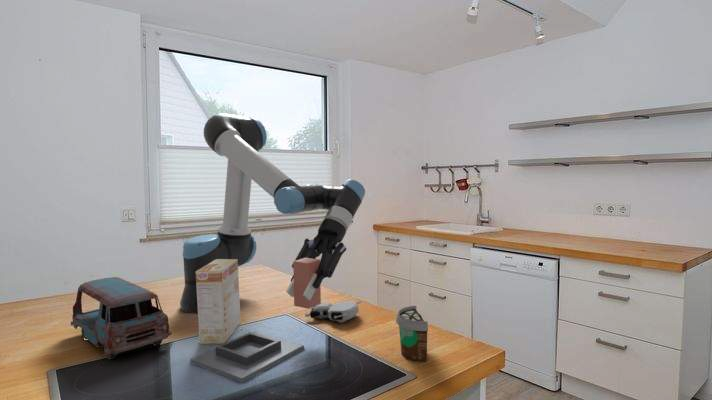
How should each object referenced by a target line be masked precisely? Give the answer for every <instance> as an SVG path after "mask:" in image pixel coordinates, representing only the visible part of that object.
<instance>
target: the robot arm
mask: <svg viewBox="0 0 712 400" xmlns="http://www.w3.org/2000/svg"><path fill="white" fill-rule="evenodd" d="M203 138H204V141H205V143H206V145H208V147H209V148H210V149H211V150H212V151H213V152H214V153H215V154H217V155H218V156H220V157H225V158H227V166H226V177H225V178H226V181H225V191H224V192H225V193H224V203H223V204H224V205H223V206H224V207H223V218H222V225H221V226H220V227H218V228H217V234H216V233H215V234H214V233H213V234H211V233H210V234H209V233H206V234H202V235H200V234H199V235H196V236H193V237H191V238H188V239H187V240H186V241H185V242H184V243H183V245H182V246H183V247H182V248H183V249H182V257H183V273H184V276H183V277H184V286H183V287H184V288H183V291H182V294H181V298H180V301H179V306H180V307H179V308H181V309H182V310H183V312H184V311H187V312H186V313H190V312H194V314H196V313H197V314H198V306H197V288H196V273H195V272H196V271H198V270H199V269H201V268H203V267H204V266H206V265H208V264H209V263H211V262H212V261H214V260H216V259H238V267H241V266H243V265H245V264H247V263H249V262H251V261H252V260H253V258H254V257H255V255H256V251H257V242H256V240H255V237H254V236H253V235H252V230H251V229H250V228H249V226H248V223H249V211H250V201H251V190H252V189H251V188H252V181H253V182H254V183H256V184H257V185H258V186H259V187H260V188H261V189H262V190H263V191H265V192H266V193H267V194H269V195H270V196H271V197H272V198H273V203H274V205H275V207H276V210H277V211H278V212H279V213H281V214H283V215H288V214H289V215H295V214H300V213H305V212H311V211H318V210H327V213H326V215H325V216H324V218H323V220H322V222H321V224H320V225H319V227H318V229H317V234H316V236H314V238H313V239H309V238H305V239H304V241H303V245H302V247H301V248H300V251H299V252H298V253H297V256H296V258H295V259H294V261H295V260H299V259H302V258H312V259H317V258H319V257H320V255H321V257H320V259H319V260H320V264H319V268H318V271H316V272H317V274H318V275H317V274H315V273H314V274H313V276H312V278H311V280H310V282H309V284H308V286H307V288H306V290H305V292H304V293H303V296H304V297H305V298H306V299H307V300H308V301H310V300H311V298H312V296H313V294H314V292H315V290H316V289H318V288H319V286H320V285H322V282H323V280H324V279H325V278H328V279H330V278H332V277H333V275H334V272H335V270H336V268H337V266H338V264H339V262H340V259H341V258H342V255H344V253H345V252H346V251H347V247H346V245H345V244H344V242H343V240H344V238H345V235H346V233H347V231H348V229H349V227H350V225H351V223H352V221H353V219H354V217H355V215H356V213H357V211H358V210H359V208H360V206H361V204H362V203H363V200H364V197H365V195H366V189H365V188H364V185H363V184H361V182H359V181H358V180H355V179H350V178H349V179H346V180H345V181H344V182H343V183H341V186H338V185H336V186H334V185H325V184H319V183H307V184H305V185H299V184H298V183H297V182H295V181H294V180H292V178H290V177H289V176H288V175H287V174H285V173H284V172H283V171H282V170H281V169H279V168H278V167H277V166H276V165H275V164H273V163H272V162H271V161H269V160H268V158H267V157H264V156H263V155H262V154H261V153H260V150H262V149H263V148H264V147H265V146H266V144H267V139H268V136H267V131H266V127H265V126H264V125H263V123H262V122H261V121H260V120H259V119H257V118H255V117H250V116H248V115H237V114H229V113H217V114H214V115H212V116H211V117H210V118H208V119H207V120H206V122H205V124H204V127H203ZM291 268H292V269H293V263H292V265H291ZM285 293H287V294H288V295H289V296H290V297H291V298H294V274H293V275H292V277H291V279H290V283H289V285H288V287H287V289H286V291H285ZM181 309H180V310H181ZM182 310H181V311H182Z"/></svg>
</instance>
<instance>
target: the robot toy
mask: <svg viewBox="0 0 712 400" xmlns="http://www.w3.org/2000/svg"><path fill="white" fill-rule="evenodd" d="M359 304H362V301H358V302H355V301H347V300H345V301H344V300H343V301H339V302H337V303H334V304H332V303H330V302H321V304H319V305H317V306H314V307H312V308H310V312H305V313H304V317H306V318H308V317H310V319H312V318H314V319H315V318H318V319H321V320H323V319H326V318H329V320H331V321H336V322H337V323H339V324H340V323H341V324H342V323H345V322H347V320H351V319H353V318H354V317H356V316H357V315H358V313H359Z"/></svg>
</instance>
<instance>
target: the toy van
mask: <svg viewBox="0 0 712 400" xmlns="http://www.w3.org/2000/svg"><path fill="white" fill-rule="evenodd" d="M83 293H84V294H85V295H87V296H89V297H90V298H92V299H94V300H96V301H97V302H99V307H98V308H96V309H93V310H89V311H84V312H83V307H82V297H83ZM153 299H154V300H155V301H154V302H155V306H154V305H153V301H152V300H153ZM70 326H72V327H73V328H74V329H75V330H78V327H79V328H80V329H81V330H80V331H81V336H82V338H83V337H84V338H85V339H88V340H87V341H89V342H90V343H92V344H93V345H94V346H95V347H97V348H101V347H103V353H104V356H105V358H106V357H107V358H108V359H107V358H106V359H107V360H112V358H113V359H115V358H116V357H117V354H121V353H124V352H128V351H132V350H135V349H138V348H141V347H145V346H148V345H151V344H153V345H154V346H157V344H158V345H160V344H162V342H163V340H166V339H168V338H169V337H170V336H171V335H172V334H173V332H172V330H170V324H169V317H168V315H167V314H166V313H165V312H164V311H163V309H162V306H161V303H160V299H159V297H158V295H157V294H156V293H154V292H153V291H151V290H149V289H147V288H144V287H142V286H139V285H137V284H135V283H132V282H130V281H128V280H126V279H123V278H122V277H121V278H120V277H116V276H114V277H105V278H99V279H92V280H90V281H85V282H84V283H81V284H80V285H79V286H78V289H77V292H76V298H75V302H74V304H73V306H72V321H70Z"/></svg>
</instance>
